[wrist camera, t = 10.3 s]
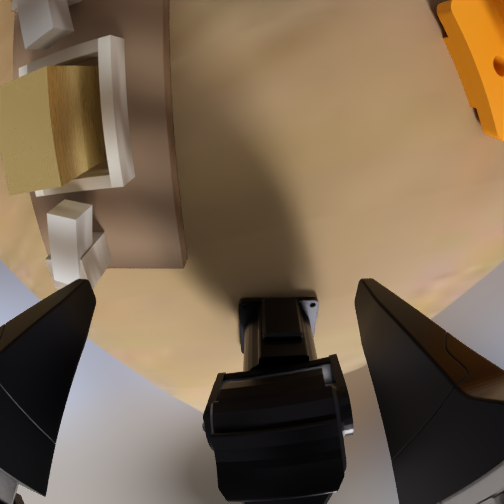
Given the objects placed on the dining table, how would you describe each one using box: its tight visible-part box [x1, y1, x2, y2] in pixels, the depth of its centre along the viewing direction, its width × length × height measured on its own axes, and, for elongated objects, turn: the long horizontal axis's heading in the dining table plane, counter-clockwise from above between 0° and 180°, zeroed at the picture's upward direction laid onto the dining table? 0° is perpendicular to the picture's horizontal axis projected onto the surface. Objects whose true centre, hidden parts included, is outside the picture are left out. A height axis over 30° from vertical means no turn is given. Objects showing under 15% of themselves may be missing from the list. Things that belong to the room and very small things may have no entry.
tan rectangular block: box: [0, 66, 107, 195], centre depth 13 cm, size 6×4×6 cm, turn 1°
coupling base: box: [11, 0, 187, 289], centre depth 15 cm, size 23×12×6 cm, turn 1°
